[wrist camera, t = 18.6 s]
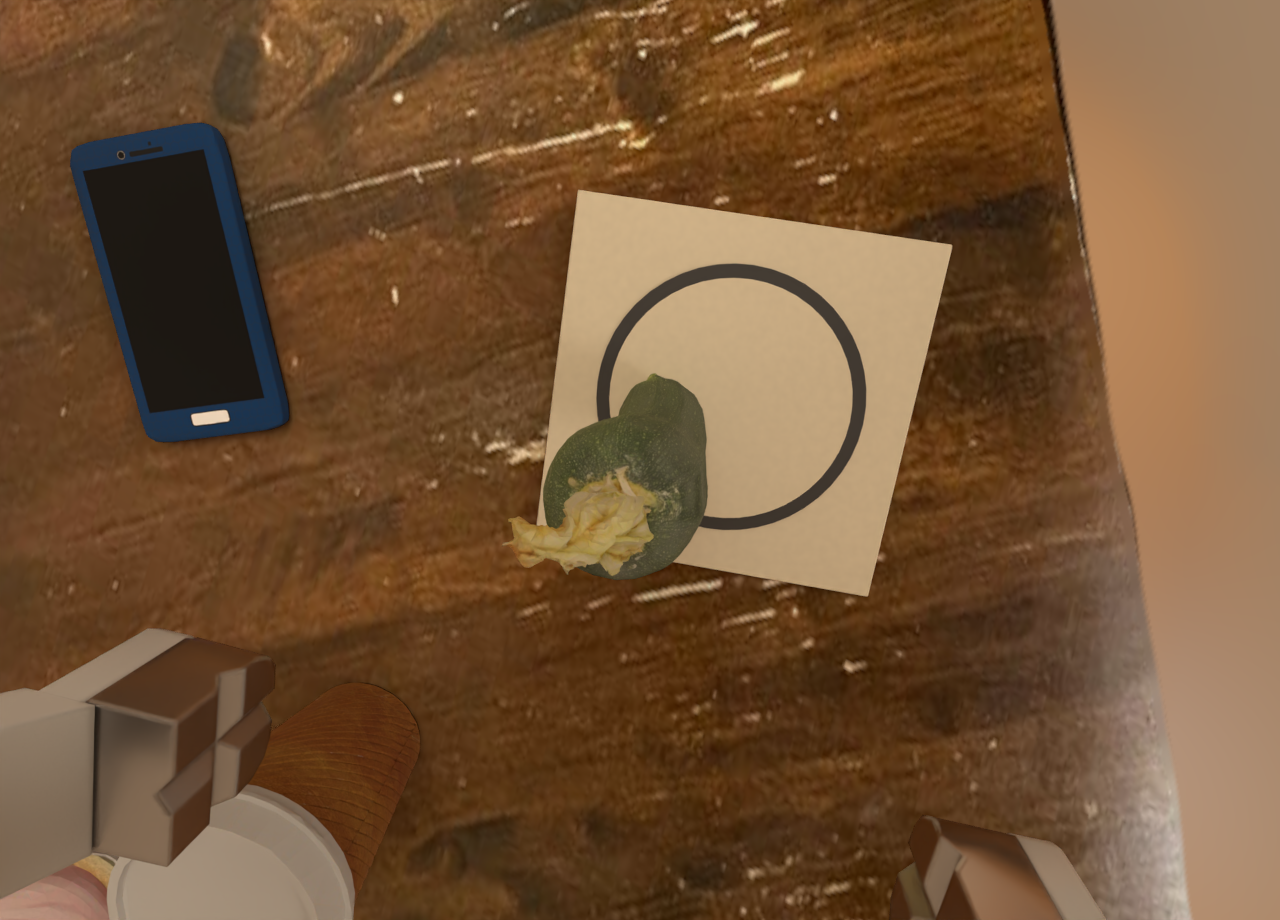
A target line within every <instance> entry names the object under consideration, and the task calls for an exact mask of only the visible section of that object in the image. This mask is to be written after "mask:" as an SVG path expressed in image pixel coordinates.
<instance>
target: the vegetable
mask: <svg viewBox="0 0 1280 920" xmlns="http://www.w3.org/2000/svg"><path fill="white" fill-rule="evenodd" d="M706 443H707V437H706V428H705V420H704V414H703V409H702V407H701V405H700V404H699V402H698V399H697V398H696V396H695V395H694V394H693V393H692V392H690V391H689V390H688V389H686V388H685V387H684V386H683V385H681V384H680V383H679V382H678V381H675V380H673V379H667V378H663V377H661V376H658V375H657V374H656V373H653V374H651V375H649V377H648V379H647V380H646V381H643V382H641V383H638V384H636V385H635V386H634V387H633V388H632V389H631V390H630V392H629V393H628V395H627V397H626V398H625V400H624V402H623V404H622V406H621V408H620V410H619V415H618V416H616V417H612V418H609V419H605V420H601V421H598V422H596V423H593V424H591V425H589V426H587V427H584V428H582V429H580V430H578V431H577V432H576V433H574V434H573V435H572V436H570V437H569V438H568V439H567V440H566V442H565V443H564V444H563V445H562V447H561V448H560V449H559V450H558V452H557V454H556V455H555V457H554V459H553V461H552V463H551V465H550V467H549V470H548V473H547V476H546V480H545V483H544V487H543V503H544V511H545V518H546V523H547V525H546V526H543V525H539V526H537V525H531V524H529V523H528V522H527V521H525V520H524V519H522V518H521V517H517V518H511V519H509V522H512V529H513V535H514V540H512V541H510V542H506V543H503V544H502V546H509V547H511V548H512V549H513V550H514V552H515V554H516V556H517V559H518V560H519V562H520V563H521V564H522V565H523V566H524V567H527V568H530V567H532V566H533V565H535V564H537V563H539V562H541V561H543V560H544V559H545V558H548V559H551V560H554V561H557V562H559V563H560V564H561V565H562V566H563V570H565V572H566V574H568V572H569V570H571V569H574V567H577V568H579V569H581V570H583V571H585V572H588V573H590V574H592V575H596V576H600V577H605V578H609V579H613V580H623V579H636V578H639V577H643V576H646V575H648V574H651V573H654V572H656V571H659V570H661V569H663V568H665V567H666V566H668V565H670V564H671V563H672V562H673V561H674V560H675V559H676V558H677V557H679V556H680V554H681V553H682V552H683V550H684V549H685V548H686V546H687V545H688V544H689V543H690V541H691V539H692V537H693V536H694V534H695V532H696V530H697V529H698V527H699V525H700V523H701V521H702V519H703V516H704V513H705V509H706V506H707V498H708V484H707V476H706V454H705V452H706Z"/></svg>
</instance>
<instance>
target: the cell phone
mask: <svg viewBox="0 0 1280 920" xmlns="http://www.w3.org/2000/svg"><path fill="white" fill-rule="evenodd" d="M70 167H71V170H72V174H73V178H74V182H75V185H76V189H77V193H78V196H79V200H80V203H81V207H82V210H83V214H84V217H85V221H86V225H87V228H88V232H89V235H90V239H91V242H92V246H93V249H94V253H95V256H96V260H97V264H98V267H99V271H100V274H101V278H102V281H103V285H104V288H105V292H106V295H107V299H108V303H109V306H110V310H111V313H112V317H113V320H114V324H115V327H116V331H117V334H118V338H119V342H120V345H121V349H122V352H123V356H124V359H125V363H126V366H127V370H128V373H129V377H130V381H131V384H132V388H133V391H134V395H135V398H136V402H137V405H138V409H139V412H140V416H141V420H142V423H143V426H144V429H145V431H146V434H147V435H148V437H149V438H151V439H153V440H155V441H157V442H177V441H184V440H192V439H200V438H208V437H216V436H223V435H231V434H239V433H247V432H254V431H262V430H270V429H273V428H276V427H279V426H281V425H283V424H285V423H286V422H287V421H288V420H289V409H288V401H287V397H286V393H285V388H284V384H283V380H282V376H281V371H280V367H279V363H278V359H277V355H276V350H275V346H274V342H273V338H272V334H271V329H270V325H269V321H268V317H267V313H266V308H265V304H264V300H263V296H262V291H261V287H260V283H259V279H258V275H257V270H256V266H255V262H254V258H253V254H252V249H251V245H250V241H249V237H248V233H247V228H246V224H245V220H244V216H243V212H242V207H241V203H240V199H239V195H238V190H237V186H236V182H235V178H234V174H233V169H232V165H231V161H230V157H229V154H228V151H227V147H226V144H225V140H224V138H223V137H222V135H221V134H220V132H219V131H218V129H216V128H215V127H213V126H211V125H209V124H205V123H192V124H183V125H178V126H173V127H167V128H162V129H157V130H151V131H146V132H141V133H135V134H130V135H125V136H119V137H114V138H109V139H103V140H98V141H93V142H88V143H85V144H82V145H80V146H77V147H76V148H75V149H73V150H72V153H71V160H70Z"/></svg>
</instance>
